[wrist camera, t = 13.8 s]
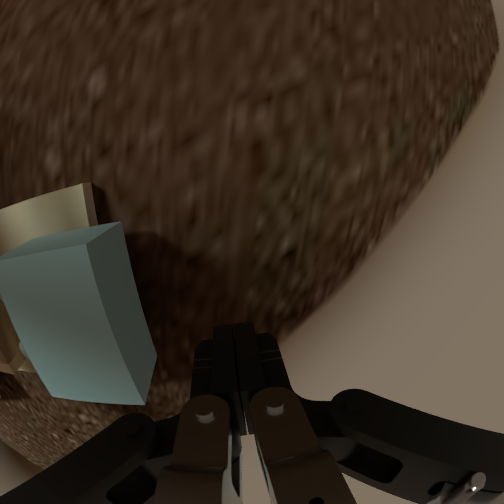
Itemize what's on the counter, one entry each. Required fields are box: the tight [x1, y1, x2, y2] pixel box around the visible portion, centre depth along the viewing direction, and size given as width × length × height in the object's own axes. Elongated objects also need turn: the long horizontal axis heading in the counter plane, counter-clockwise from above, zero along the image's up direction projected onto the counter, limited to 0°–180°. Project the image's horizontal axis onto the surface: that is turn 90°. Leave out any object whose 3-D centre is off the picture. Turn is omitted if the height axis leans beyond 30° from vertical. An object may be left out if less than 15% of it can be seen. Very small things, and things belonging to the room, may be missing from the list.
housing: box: [0, 221, 157, 405], centre depth 13 cm, size 7×9×4 cm
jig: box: [0, 182, 98, 375], centre depth 13 cm, size 20×14×4 cm
